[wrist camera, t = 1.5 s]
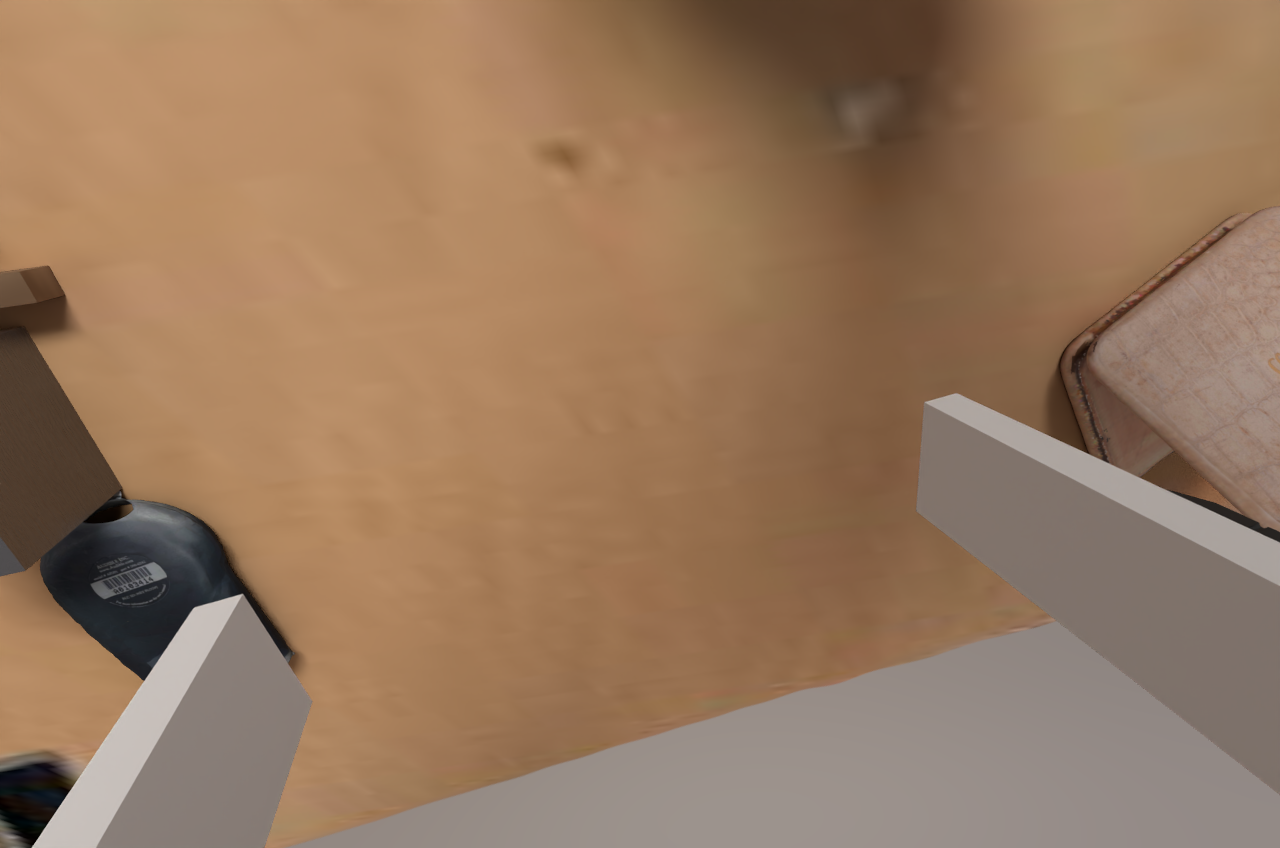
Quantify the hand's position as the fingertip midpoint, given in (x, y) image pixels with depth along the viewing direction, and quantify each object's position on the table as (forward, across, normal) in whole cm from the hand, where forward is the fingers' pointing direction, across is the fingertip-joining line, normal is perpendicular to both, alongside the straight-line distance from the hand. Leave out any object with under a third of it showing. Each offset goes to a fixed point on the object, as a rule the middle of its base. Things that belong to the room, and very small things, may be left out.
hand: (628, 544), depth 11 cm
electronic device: (+27, -27, -14) cm, 41 cm away
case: (+28, +56, -19) cm, 65 cm away
